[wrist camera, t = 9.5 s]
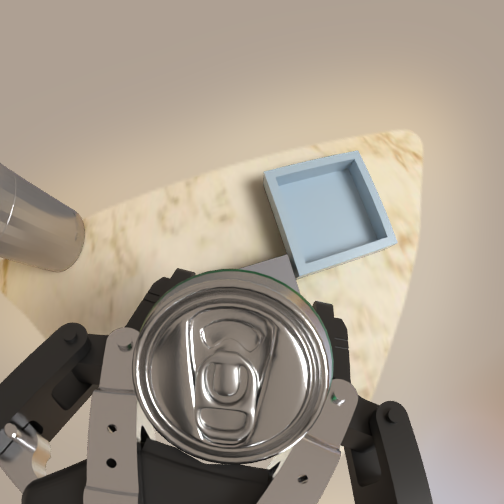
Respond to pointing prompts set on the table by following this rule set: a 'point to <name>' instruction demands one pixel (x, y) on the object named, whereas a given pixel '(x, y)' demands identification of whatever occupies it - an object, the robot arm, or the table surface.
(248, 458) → the soda can
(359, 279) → the table surface
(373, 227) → the parts tray
